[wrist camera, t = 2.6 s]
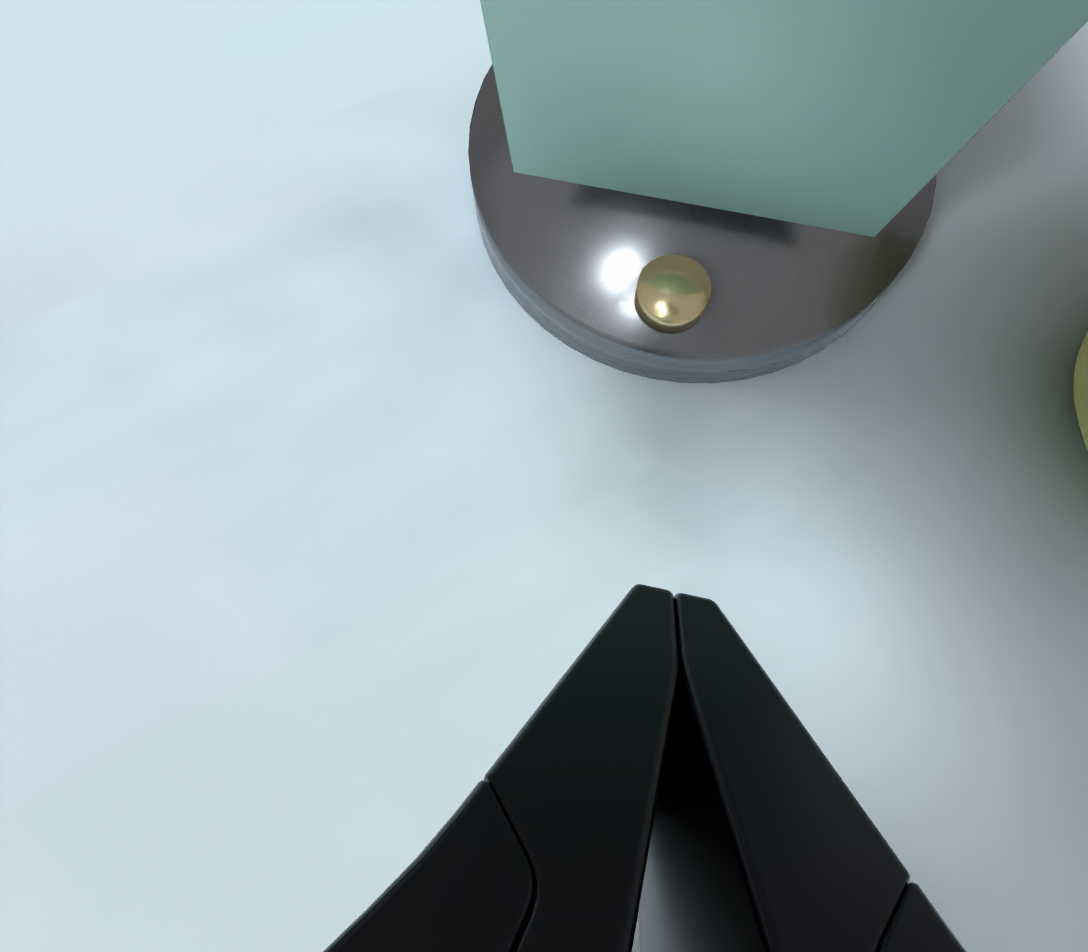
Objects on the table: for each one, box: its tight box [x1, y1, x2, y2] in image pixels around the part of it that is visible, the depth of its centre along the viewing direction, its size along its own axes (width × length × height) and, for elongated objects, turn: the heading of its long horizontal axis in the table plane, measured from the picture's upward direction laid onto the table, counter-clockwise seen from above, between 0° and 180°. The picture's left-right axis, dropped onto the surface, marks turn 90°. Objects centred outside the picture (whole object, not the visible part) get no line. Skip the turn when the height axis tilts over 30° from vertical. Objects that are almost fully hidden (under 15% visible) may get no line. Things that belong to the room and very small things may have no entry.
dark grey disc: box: [468, 64, 936, 383], centre depth 23 cm, size 14×14×3 cm
